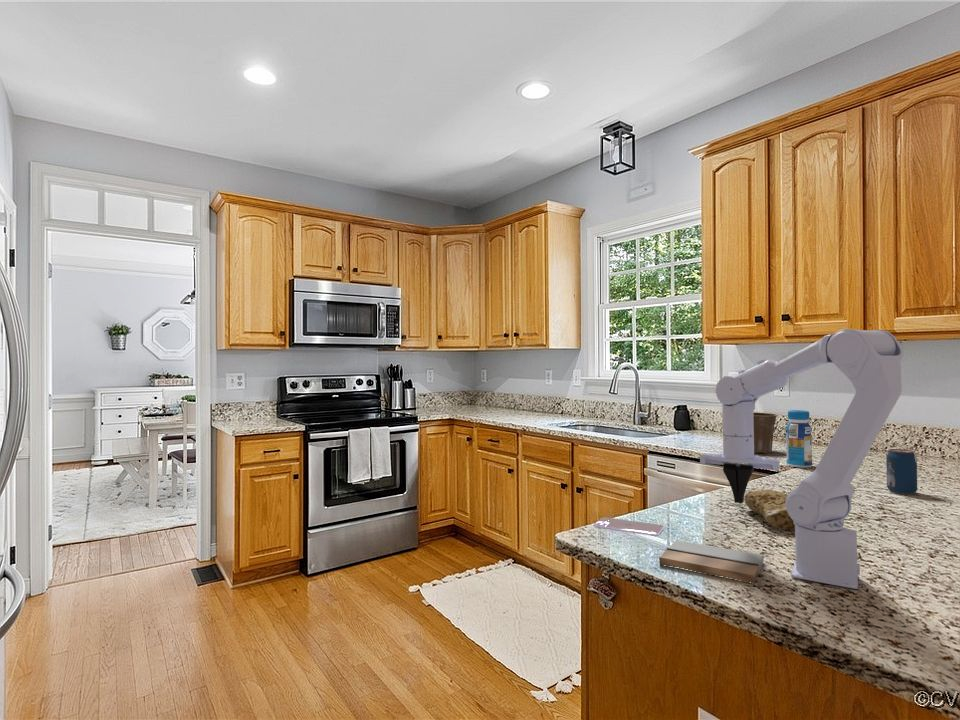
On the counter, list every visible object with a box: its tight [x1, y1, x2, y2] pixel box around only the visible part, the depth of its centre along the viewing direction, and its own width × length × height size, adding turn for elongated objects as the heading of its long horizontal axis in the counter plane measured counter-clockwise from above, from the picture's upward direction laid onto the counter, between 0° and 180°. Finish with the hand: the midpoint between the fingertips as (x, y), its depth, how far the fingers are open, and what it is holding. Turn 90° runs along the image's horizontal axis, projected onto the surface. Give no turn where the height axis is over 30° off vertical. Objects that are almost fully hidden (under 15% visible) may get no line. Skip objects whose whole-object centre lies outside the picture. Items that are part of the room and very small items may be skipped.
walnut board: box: [658, 547, 760, 584], centre depth 98 cm, size 16×6×2 cm, turn 56°
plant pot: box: [753, 411, 778, 454], centre depth 228 cm, size 16×16×16 cm
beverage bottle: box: [785, 409, 813, 469], centre depth 196 cm, size 8×8×20 cm
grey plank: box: [668, 539, 764, 572], centre depth 104 cm, size 16×6×2 cm, turn 56°
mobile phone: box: [593, 516, 665, 537], centre depth 125 cm, size 8×1×15 cm
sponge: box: [744, 489, 795, 532], centre depth 129 cm, size 13×8×20 cm
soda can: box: [885, 448, 918, 496], centre depth 155 cm, size 7×7×12 cm
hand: (739, 501), depth 110 cm, fingers closed
